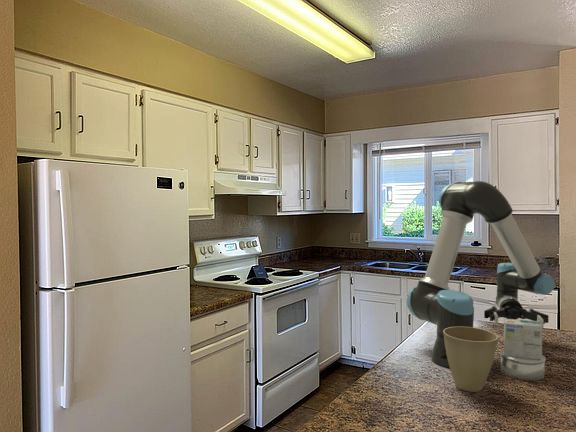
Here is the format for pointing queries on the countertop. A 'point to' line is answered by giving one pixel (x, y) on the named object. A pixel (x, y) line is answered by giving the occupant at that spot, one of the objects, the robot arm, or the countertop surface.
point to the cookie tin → (522, 367)
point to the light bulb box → (523, 338)
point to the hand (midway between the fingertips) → (519, 322)
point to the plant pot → (470, 355)
